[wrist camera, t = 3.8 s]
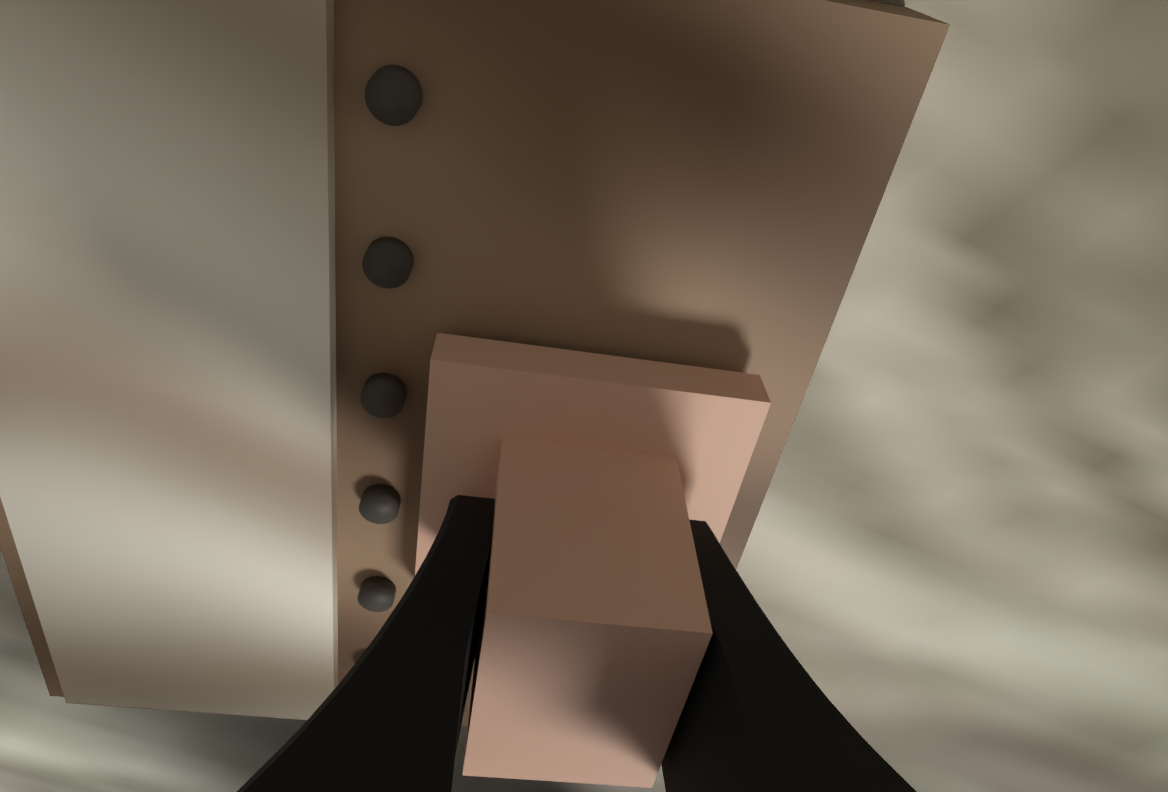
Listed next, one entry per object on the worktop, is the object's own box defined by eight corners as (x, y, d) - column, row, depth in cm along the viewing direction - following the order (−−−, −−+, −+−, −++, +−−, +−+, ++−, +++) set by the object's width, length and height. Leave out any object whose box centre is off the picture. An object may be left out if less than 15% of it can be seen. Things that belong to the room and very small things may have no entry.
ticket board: (662, 686, 20) (670, 755, 19) (84, 639, 18) (39, 712, 17) (906, 7, 11) (963, 29, 10) (-151, -198, 10) (-287, -211, 8)
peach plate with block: (674, 619, 16) (708, 835, 12) (416, 596, 15) (376, 815, 12) (760, 375, 13) (838, 572, 9) (437, 332, 12) (388, 526, 9)
